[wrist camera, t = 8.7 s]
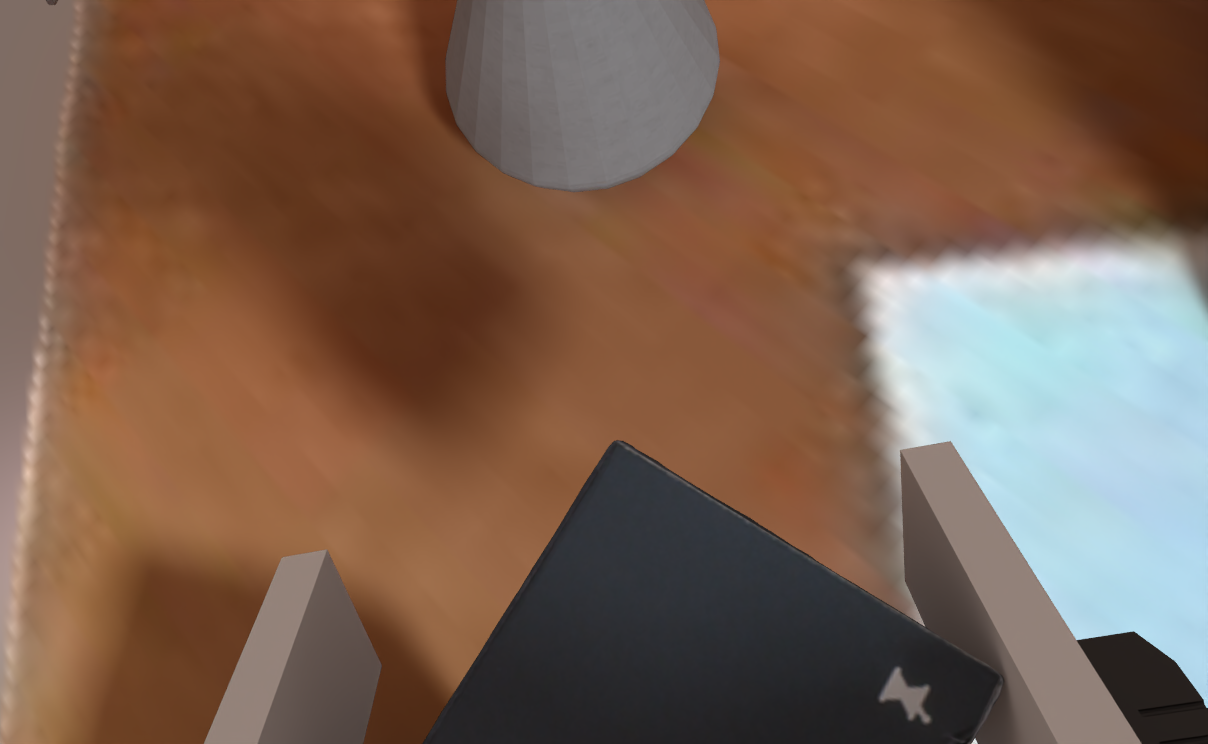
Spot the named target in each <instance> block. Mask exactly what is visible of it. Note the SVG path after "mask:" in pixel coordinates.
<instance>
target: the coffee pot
mask: <svg viewBox="0 0 1208 744" xmlns="http://www.w3.org/2000/svg"><path fill="white" fill-rule="evenodd" d="M46 1H47V3H48V4H49V5H56V3H57V1H58V0H46ZM445 60H446V93H447V97H448V100H449V103H450V106H451V109H452V112H453V115H454V118H455V121H456V124H457V126H458V127H459V128H460V130H461V131H462V133H463V134H464V135H465V137H466V138H467V140H468V141H469V143H470V144H471V145H472V147H473V148H474V150H475V151H476V152H477V153H479V154H480V155H481V156H482V157H484V158H485V159H486V160H487V161H489V162H490V163H491V164H493V165H494V166H495V167H496V168H498V169H499V170H500V171H501V172H503V173H504V174H507V175H509V176H511V177H514V178H516V179H519V180H521V181H524V182H526V183H528V184H531V185H533V186H536V187H541V188H548V189H555V190H563V191H570V192H581V191H590V190H599V189H608V188H611V187H614V186H616V185H619V184H622V183H625V182H627V181H630V180H633V179H636V178H638V177H641V176H642V175H644V174H645V173H647V172H648V171H650V170H651V169H653V168H654V167H656V166H657V165H659V164H660V163H662V162H663V161H665V160H666V159H668V158H669V157H670V156H672V155H673V154H674V153H675V152H676V151H677V149H678V148H679V147H680V146H681V145H682V144H683V143H684V142H685V141H686V139H687V138H688V137H689V136H690V135H691V134H692V133H693V132H694V131H695V129H696V128H697V127H698V125H699V123H700V121H701V119H702V117H703V115H704V113H705V111H706V109H707V107H708V105H709V103H710V101H711V99H712V97H713V94H714V90H715V84H716V79H717V74H718V68H719V63H720V59H719V49H718V40H717V31H716V27H715V24H714V22H713V20H712V17H711V15H710V13H709V11H708V8H707V6H706V4H705V1H704V0H457V5H456V10H455V15H454V20H453V24H452V29H451V34H450V39H449V44H448V49H447V54H446V59H445Z"/></svg>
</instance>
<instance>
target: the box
mask: <svg viewBox="0 0 1208 744" xmlns="http://www.w3.org/2000/svg"><path fill="white" fill-rule="evenodd" d="M1003 684H1004V678H1003V676H1002V675H1001V674H999V673H998V672H997V671H996V670H994V669H993V668H992V667H990V666H989V665H987V664H986V663H984V662H982V661H980V660H979V659H977V658H976V657H974V656H973V655H971V654H969V653H968V652H966V651H964V650H962V649H961V648H959V647H957V646H956V645H954V644H952V643H951V642H949V641H947V640H946V639H944V638H942V637H941V636H939V635H937V634H936V633H934V632H932V631H931V630H929V629H927V628H926V627H924V626H923V625H921V624H919V623H918V622H916V621H915V620H913V619H911V618H910V617H908V616H906V615H905V614H903V613H902V612H900V611H898V610H897V609H895V608H893V607H892V606H890V605H888V604H887V603H885V602H883V601H882V600H880V599H878V598H877V597H875V596H873V595H872V594H870V593H868V592H867V591H865V590H864V589H862V588H860V587H859V586H857V585H855V584H854V583H852V582H850V581H849V580H847V579H845V578H843V577H842V576H840V575H838V574H837V573H835V572H834V571H832V570H830V569H829V568H827V567H826V566H824V565H823V564H821V563H819V562H818V561H816V560H815V559H813V558H812V557H811V556H809V555H808V554H806V553H805V552H803V551H801V550H799V549H797V548H796V547H794V546H792V545H791V544H789V543H788V542H786V541H785V540H783V539H782V538H780V537H779V536H777V535H776V534H774V533H773V532H771V531H769V530H768V529H766V528H764V527H763V526H761V525H759V524H758V523H757V522H755V521H754V520H752V519H751V518H749V517H747V516H746V515H744V514H742V513H740V512H739V511H737V510H735V509H733V508H732V507H730V506H728V505H726V504H725V503H723V502H721V501H719V500H718V499H716V498H714V497H713V496H711V495H709V494H708V493H706V492H704V491H703V490H701V489H700V488H698V487H696V486H695V485H693V484H691V483H690V482H688V481H687V480H685V479H683V478H682V477H680V476H679V475H677V474H675V473H674V472H672V471H671V470H669V469H667V468H666V467H665V466H663V465H662V464H660V463H659V462H658V461H656V460H654V459H653V458H651V457H649V456H647V455H645V454H644V453H642V452H640V451H638V450H637V449H635V448H634V447H633V446H632V445H630V444H628V443H626V442H624V441H619V440H617V441H614V442H613V443H612V444H611V445H610V446H609V447H608V449H607V450H606V452H605V453H604V455H603V456H602V458H601V460H600V461H599V463H598V464H597V466H596V467H595V469H594V470H593V472H592V473H591V475H590V476H589V478H588V479H587V481H586V482H585V484H584V486H583V487H582V489H581V491H580V492H579V494H578V496H577V497H576V499H575V501H574V502H573V504H572V506H571V507H570V509H569V511H568V512H567V514H566V516H565V517H564V519H563V521H562V522H561V524H560V526H559V527H558V529H557V531H556V532H555V534H554V536H553V537H552V539H551V540H550V542H549V543H548V545H547V546H546V548H545V549H544V551H543V553H542V554H541V556H540V557H539V559H538V560H537V562H536V563H535V565H534V566H533V568H532V570H531V571H530V573H529V575H528V576H527V578H526V580H525V581H524V583H523V585H522V586H521V588H520V590H519V591H518V593H517V594H516V596H515V597H514V599H513V600H512V602H511V603H510V605H509V606H508V608H507V610H506V611H505V613H504V614H503V616H502V617H501V619H500V621H499V622H498V624H497V625H496V627H495V629H494V630H493V632H492V634H491V635H490V637H489V638H488V640H487V642H486V643H485V645H484V647H483V648H482V650H481V652H480V653H479V655H478V656H477V658H476V660H475V661H474V663H473V664H472V666H471V667H470V669H469V671H468V672H467V674H466V675H465V677H464V678H463V680H462V681H461V683H460V685H459V686H458V688H457V689H456V691H455V692H454V694H453V695H452V697H451V698H450V700H449V701H448V703H447V704H446V706H445V708H444V709H443V711H442V712H441V714H440V716H439V717H438V719H437V721H436V722H435V724H434V726H433V727H432V729H431V731H430V732H429V734H428V736H427V737H426V739H425V740H424V742H423V744H971V743H972V742H973V740H974V739H975V737H976V735H977V734H978V732H979V731H980V729H981V727H982V726H983V724H984V723H985V721H986V720H987V718H988V716H989V714H990V712H991V710H992V708H993V706H994V704H995V703H996V701H997V700H998V698H999V696H1000V693H1001V690H1002V687H1003Z"/></svg>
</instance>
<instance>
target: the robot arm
mask: <svg viewBox="0 0 1208 744" xmlns="http://www.w3.org/2000/svg"><path fill="white" fill-rule="evenodd" d="M900 457H901V485H902V512H903V539H904V567H905V582H906V584H907V586H908V589H909V591H910V593H911V595H912V597H913V600H914V602H915V604H916V606H917V609H918V611H919V613H920V615H921V618H922V620H923V622H924V624H925V627H926V628H927V629H929V630H931V631H932V632H934V633H936V634H937V635H939V636H941V637H942V638H944V639H946V640H947V641H949V642H951V643H952V644H954V645H956V646H957V647H959V648H961V649H962V650H964V651H966V652H968V653H969V654H971V655H973V656H974V657H976V658H977V659H979V660H980V661H982V662H984V663H986V664H987V665H989V666H990V667H992V668H993V669H994V670H996V671H997V672H998V673H999V674H1001V675H1002V676H1003V678H1004V684H1003V687H1002V690H1001V693H1000V696H999V698H998V700H997V701H996V703H995V704H994V706H993V708H992V710H991V712H990V714H989V716H988V718H987V720H986V721H985V723H984V724H983V726H982V727H981V729H980V731H979V732H978V734H977V735H976V737H975V738H976V740H977V743H978V744H1208V708H1206V706H1205V705H1204V700H1203V699H1202V697H1201V696H1200V695H1199V693H1198V692H1197V690H1196V689H1195V688H1194V686H1193V685H1192V684H1191V682H1190V681H1189V680H1188V678H1187V677H1186V676H1185V674H1184V673H1183V671H1182V670H1181V669H1180V667H1179V666H1178V665H1177V663H1176V662H1175V661H1174V660H1172V659H1171V658H1169V657H1168V656H1167V655H1165V654H1164V653H1163V652H1161V651H1160V650H1159V649H1157V648H1156V647H1154V646H1153V645H1152V644H1150V643H1149V642H1148V641H1146V640H1145V639H1143V638H1142V637H1141V636H1139V635H1138V634H1137V633H1135V632H1127V633H1121V634H1114V635H1108V636H1101V637H1095V638H1088V639H1082V640H1076V639H1075V637H1074V636H1073V634H1072V633H1071V631H1070V629H1069V628H1068V626H1067V625H1066V623H1065V622H1064V620H1063V618H1062V617H1061V615H1060V614H1059V612H1058V610H1057V609H1056V607H1055V606H1054V604H1053V603H1052V601H1051V599H1050V598H1049V596H1048V595H1047V593H1046V591H1045V590H1044V588H1043V587H1042V585H1041V584H1040V582H1039V580H1038V579H1037V577H1036V576H1035V574H1034V572H1033V571H1032V569H1031V568H1030V566H1029V565H1028V563H1027V561H1026V560H1025V558H1024V557H1023V555H1022V553H1021V552H1020V550H1019V549H1018V547H1017V545H1016V544H1015V542H1014V541H1013V539H1012V538H1011V536H1010V534H1009V533H1008V531H1007V530H1006V528H1005V526H1004V525H1003V523H1002V522H1001V520H1000V519H999V517H998V515H997V514H996V512H995V511H994V509H993V507H992V506H991V504H990V503H989V501H988V500H987V498H986V496H985V495H984V493H983V492H982V490H981V488H980V487H979V485H978V484H977V482H976V481H975V479H974V477H973V476H972V474H971V473H970V471H969V469H968V468H967V466H966V465H965V463H964V462H963V460H962V458H961V457H960V455H959V454H958V452H957V450H956V449H955V447H954V446H953V444H952V442H951V441H950V442H944V443H938V444H932V445H926V446H921V447H915V448H909V449H903V450H900ZM381 668H382V665H381V662H380V660H379V658H378V656H377V654H376V652H375V650H374V648H373V646H372V643H371V641H370V639H369V637H368V635H367V633H366V631H365V629H364V626H363V624H362V622H361V620H360V618H359V616H358V614H357V612H356V610H355V607H354V605H353V603H352V601H351V599H350V597H349V595H348V593H347V591H346V588H345V586H344V584H343V582H342V580H341V578H340V576H339V574H338V571H337V569H336V567H335V565H334V563H333V561H332V559H331V557H330V555H329V552H328V550H322V551H316V552H310V553H305V554H299V555H293V556H287V557H282V559H281V561H280V563H279V566H278V568H277V570H276V573H275V575H274V578H273V580H272V582H271V585H270V587H269V590H268V592H267V594H266V597H265V599H264V601H263V604H262V606H261V609H260V611H259V613H258V616H257V618H256V621H255V623H254V625H253V628H252V630H251V632H250V635H249V637H248V640H247V642H246V644H245V647H244V649H243V651H242V654H241V656H240V659H239V661H238V663H237V666H236V668H235V671H234V673H233V675H232V678H231V680H230V682H229V685H228V687H227V690H226V692H225V694H224V697H223V699H222V702H221V704H220V706H219V709H218V711H217V713H216V716H215V718H214V721H213V723H212V725H211V728H210V730H209V733H208V735H207V737H206V740H205V742H204V744H363V742H364V738H365V734H366V730H367V726H368V722H369V717H370V713H371V709H372V705H373V701H374V697H375V693H376V688H377V684H378V680H379V676H380V672H381Z"/></svg>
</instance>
